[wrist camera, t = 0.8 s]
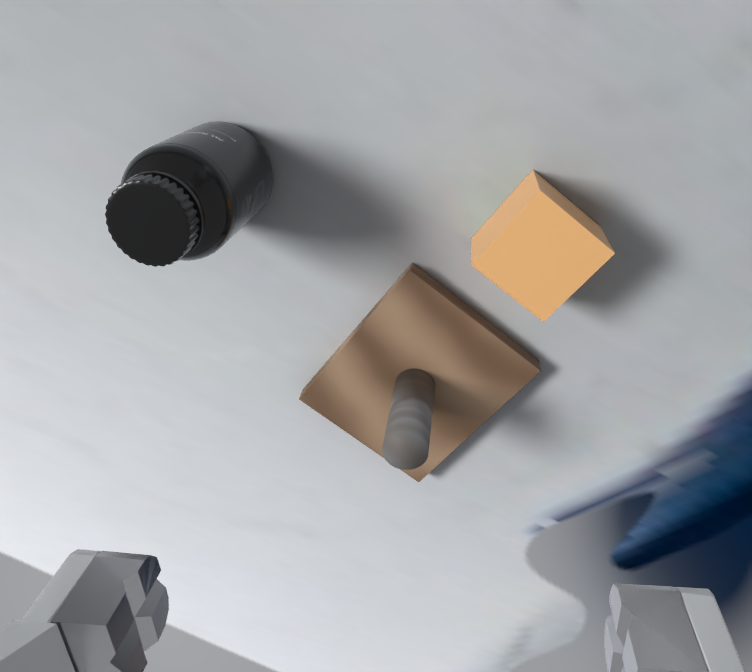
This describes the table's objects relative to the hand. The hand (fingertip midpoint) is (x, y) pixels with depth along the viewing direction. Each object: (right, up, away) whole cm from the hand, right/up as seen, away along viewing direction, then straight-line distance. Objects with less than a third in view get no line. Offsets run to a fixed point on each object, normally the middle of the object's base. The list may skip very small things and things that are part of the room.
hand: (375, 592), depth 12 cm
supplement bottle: (-10, +16, +33) cm, 38 cm away
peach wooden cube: (+11, +11, +32) cm, 36 cm away
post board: (+3, +2, +39) cm, 39 cm away
